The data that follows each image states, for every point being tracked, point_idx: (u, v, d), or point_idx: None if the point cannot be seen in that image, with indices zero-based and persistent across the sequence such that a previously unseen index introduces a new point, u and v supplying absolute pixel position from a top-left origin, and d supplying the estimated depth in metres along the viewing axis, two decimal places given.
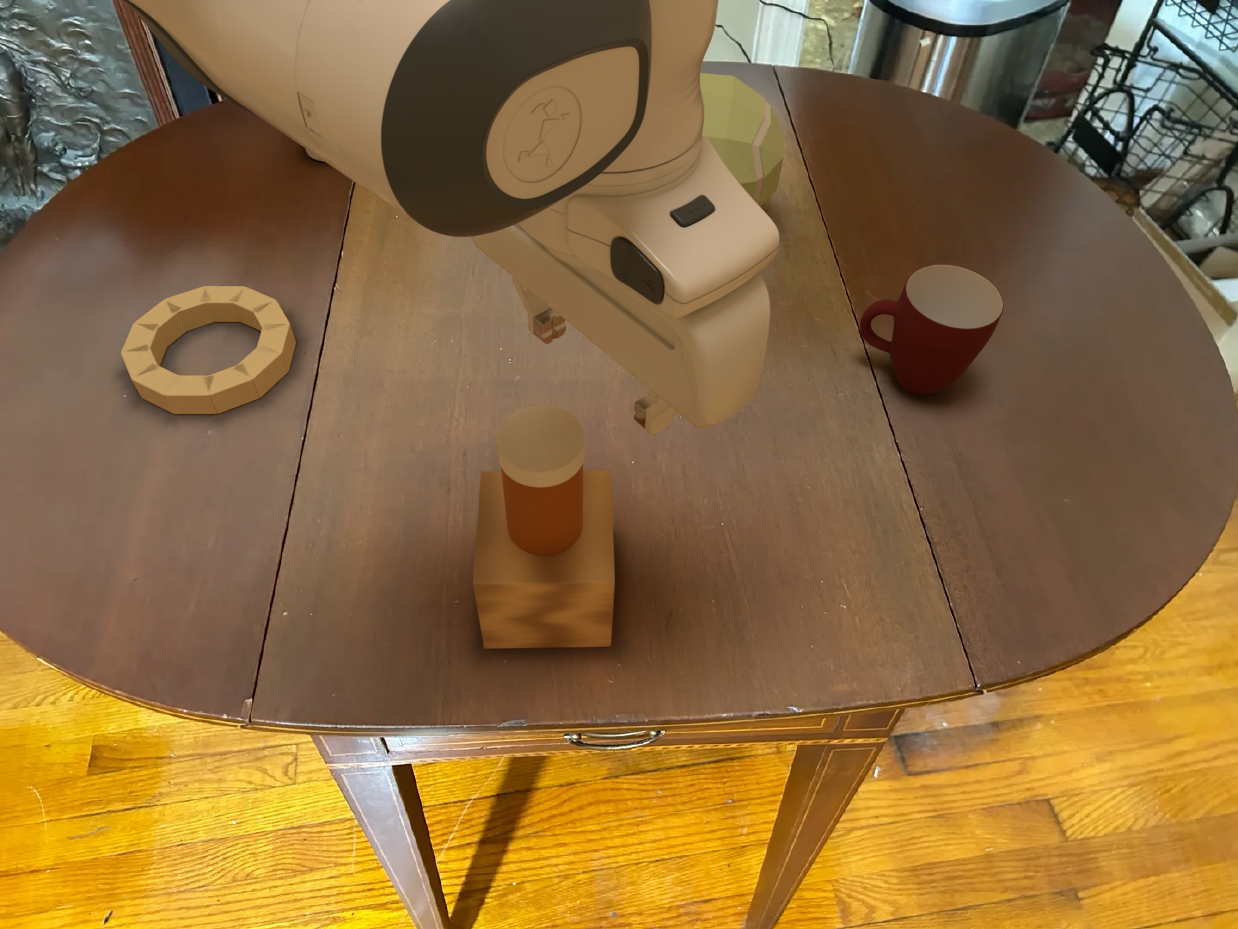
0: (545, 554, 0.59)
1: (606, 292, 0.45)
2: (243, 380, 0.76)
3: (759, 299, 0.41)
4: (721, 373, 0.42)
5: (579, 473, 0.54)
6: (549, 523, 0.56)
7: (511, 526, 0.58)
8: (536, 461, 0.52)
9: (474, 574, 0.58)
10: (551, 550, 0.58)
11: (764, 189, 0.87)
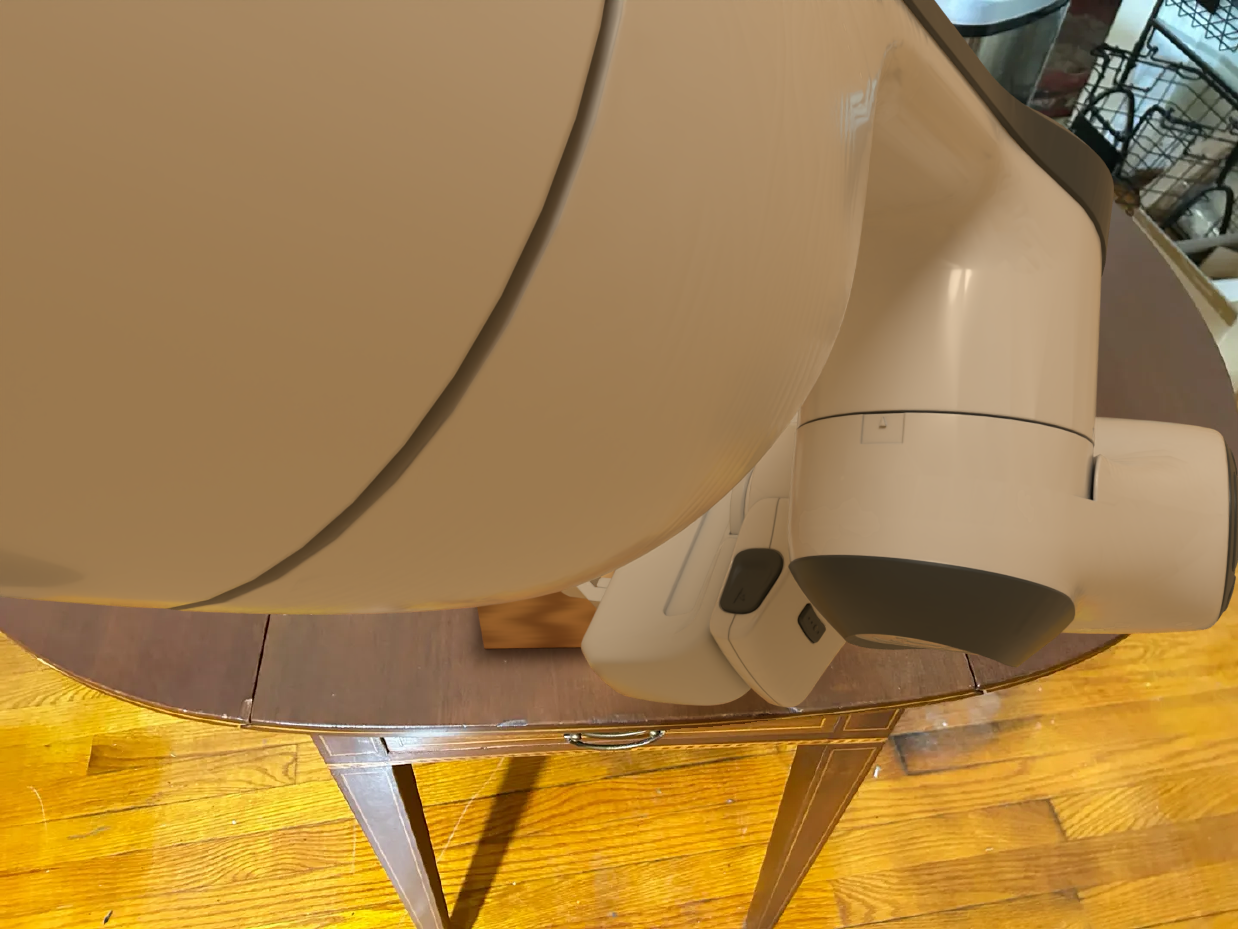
0: None
1: (703, 527, 0.44)
2: None
3: (727, 695, 0.41)
4: (650, 671, 0.40)
5: None
6: None
7: None
8: None
9: None
10: None
11: None
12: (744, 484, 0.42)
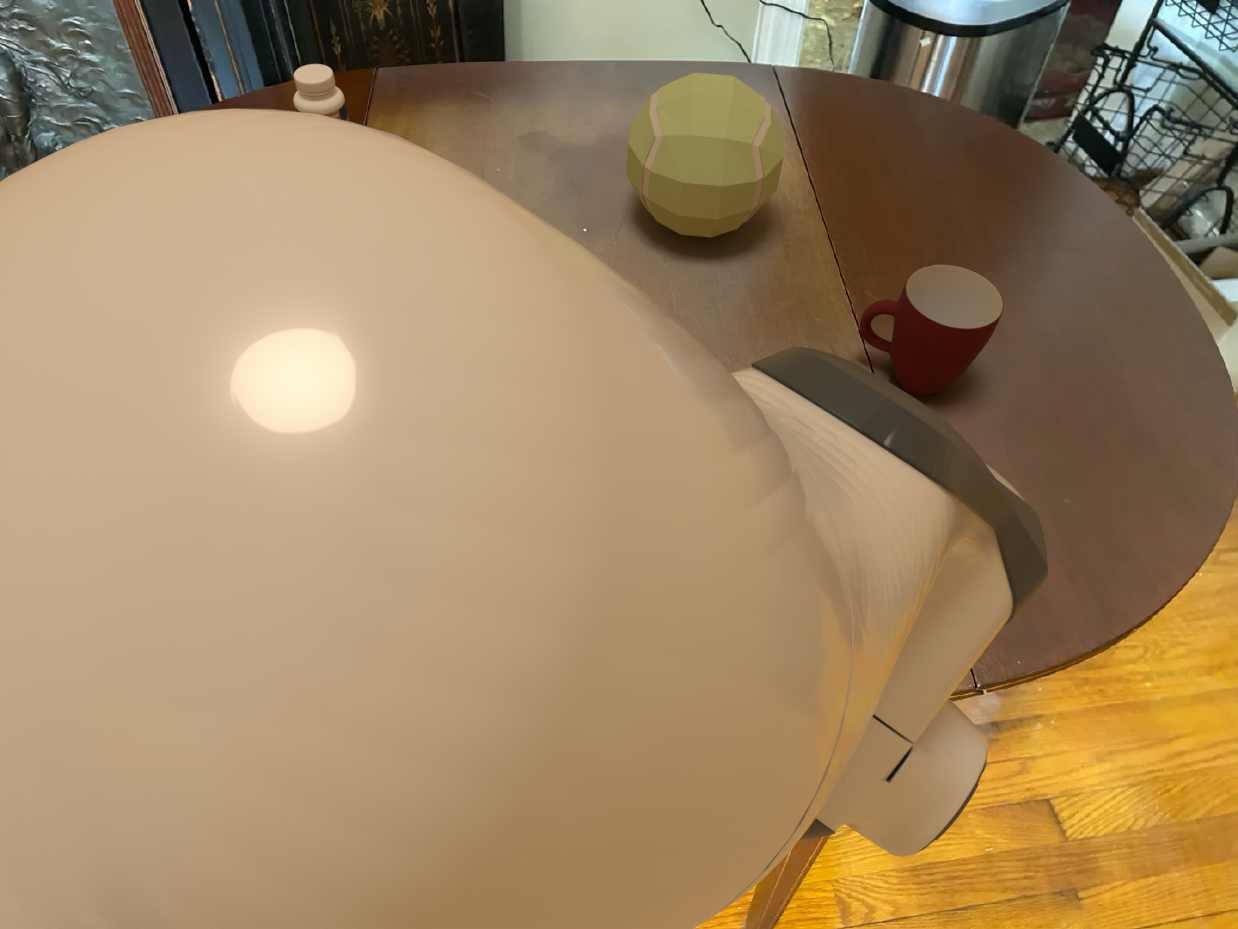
0: None
1: None
2: None
3: None
4: None
5: None
6: None
7: None
8: None
9: None
10: None
11: (764, 189, 0.87)
12: None
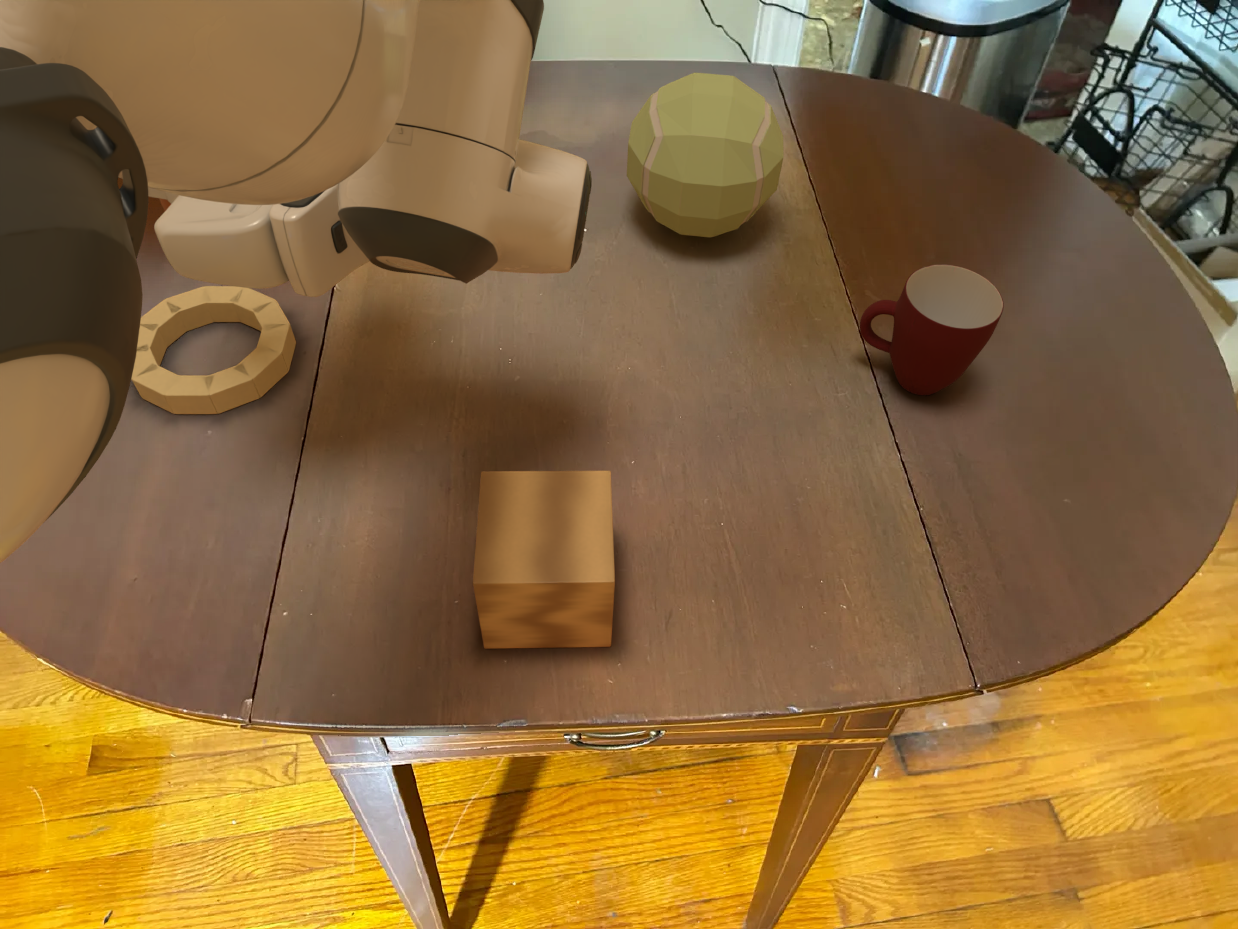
0: None
1: None
2: (243, 380, 0.76)
3: (268, 279, 0.58)
4: (214, 244, 0.55)
5: None
6: None
7: None
8: None
9: (474, 574, 0.58)
10: None
11: (764, 189, 0.87)
12: None
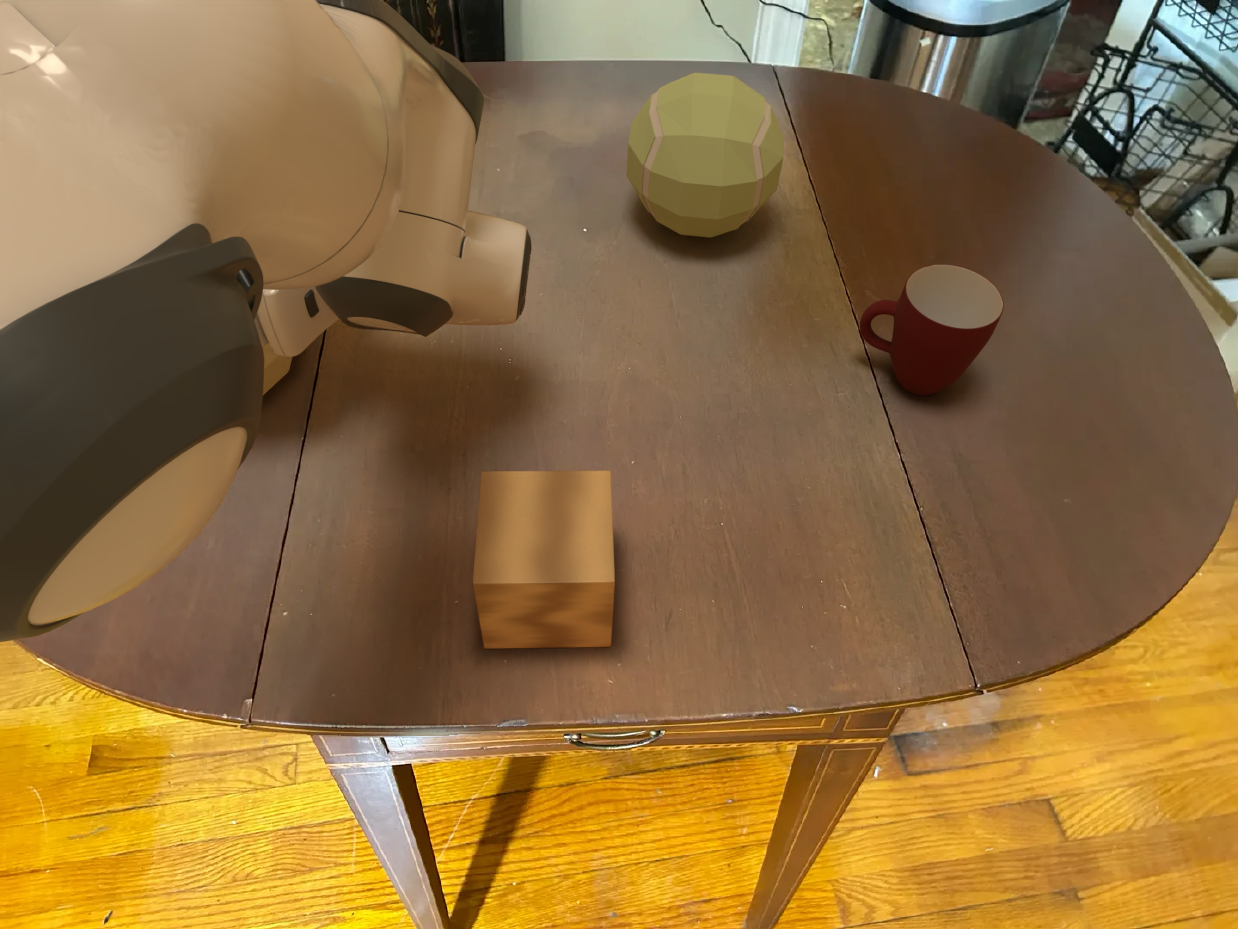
0: None
1: None
2: None
3: None
4: None
5: None
6: None
7: None
8: None
9: (474, 574, 0.58)
10: None
11: (764, 189, 0.87)
12: None
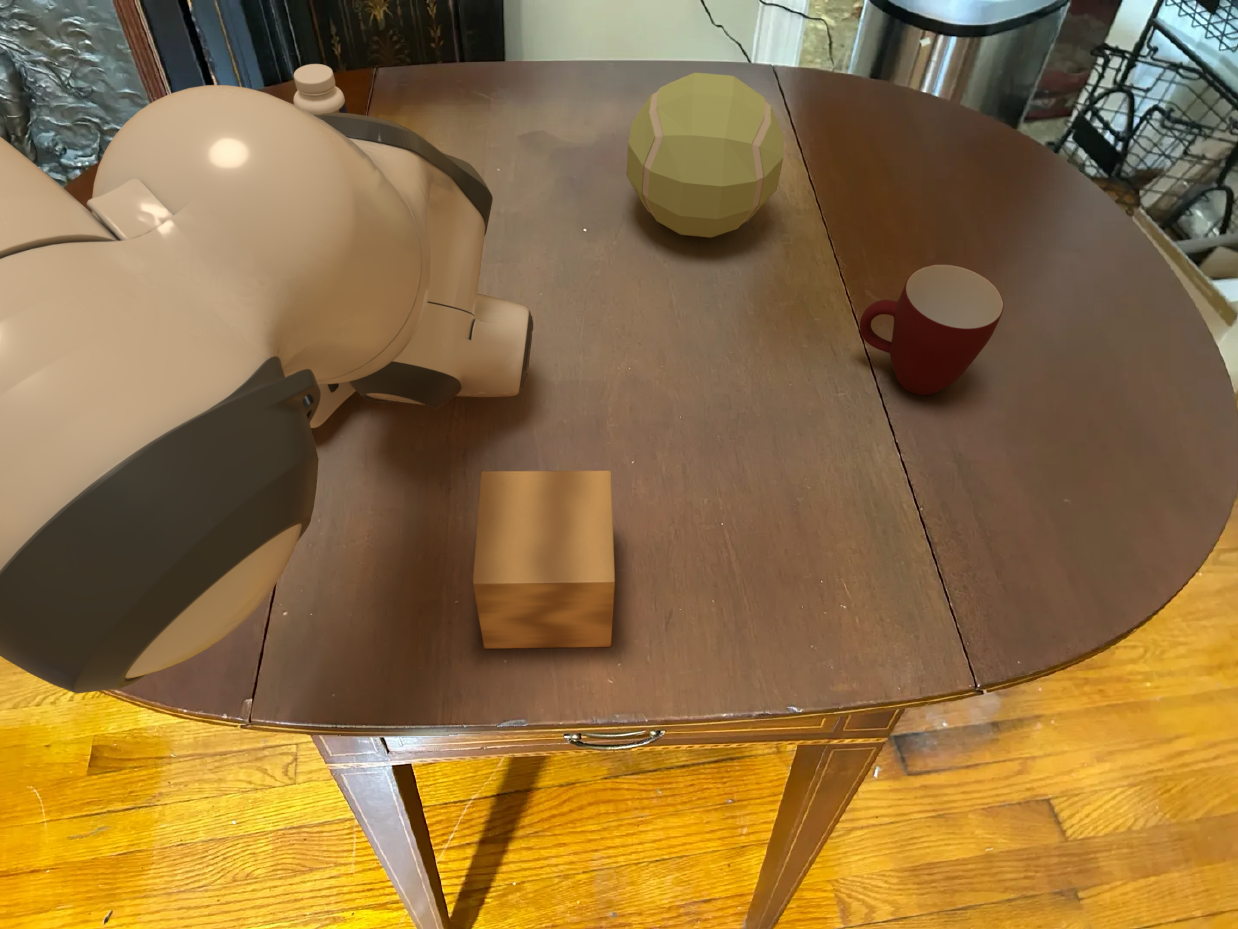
0: None
1: None
2: None
3: None
4: None
5: None
6: None
7: None
8: None
9: (474, 574, 0.58)
10: None
11: (764, 189, 0.87)
12: None
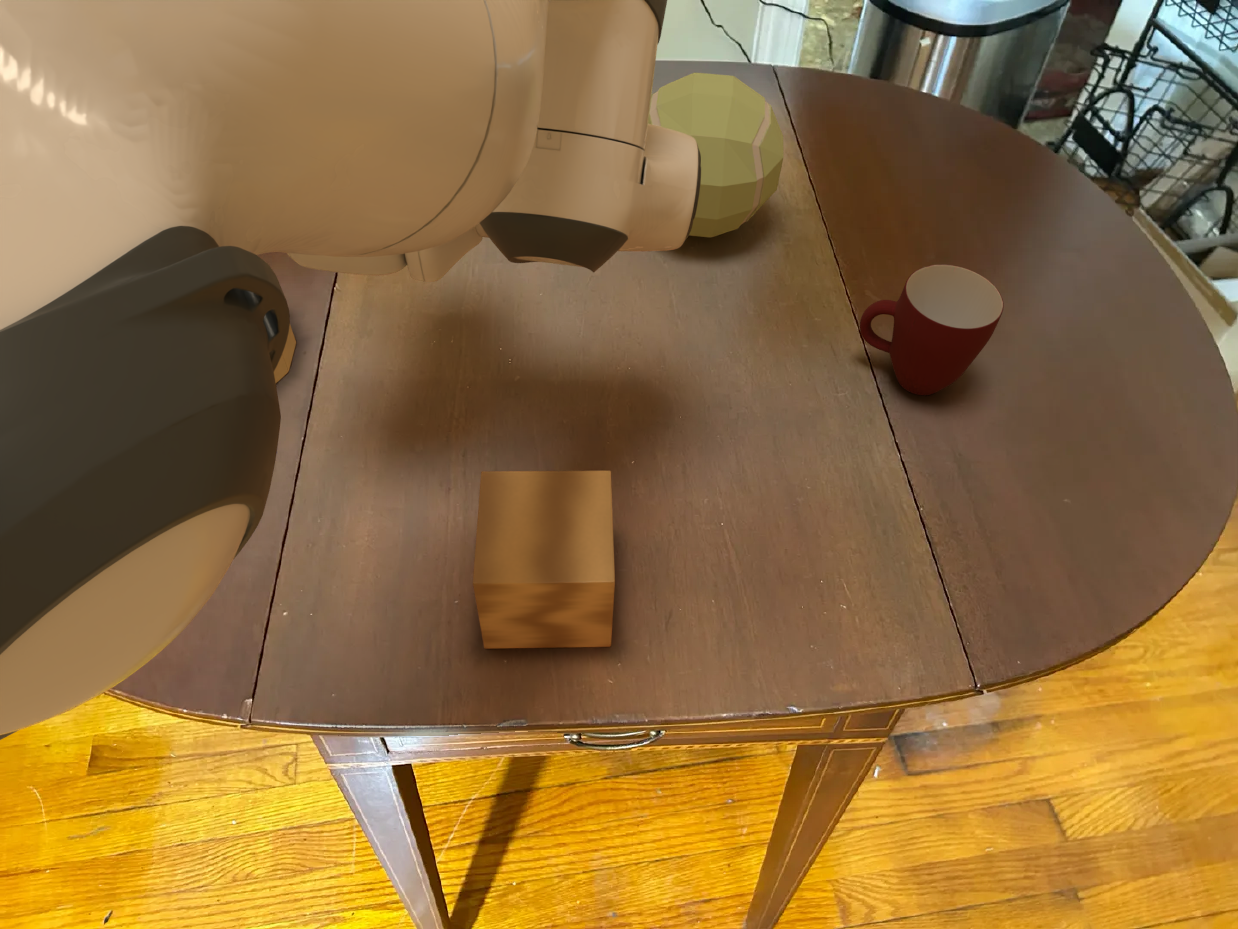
0: None
1: None
2: None
3: (389, 266, 0.58)
4: None
5: None
6: None
7: None
8: None
9: (474, 574, 0.58)
10: None
11: (764, 189, 0.87)
12: None
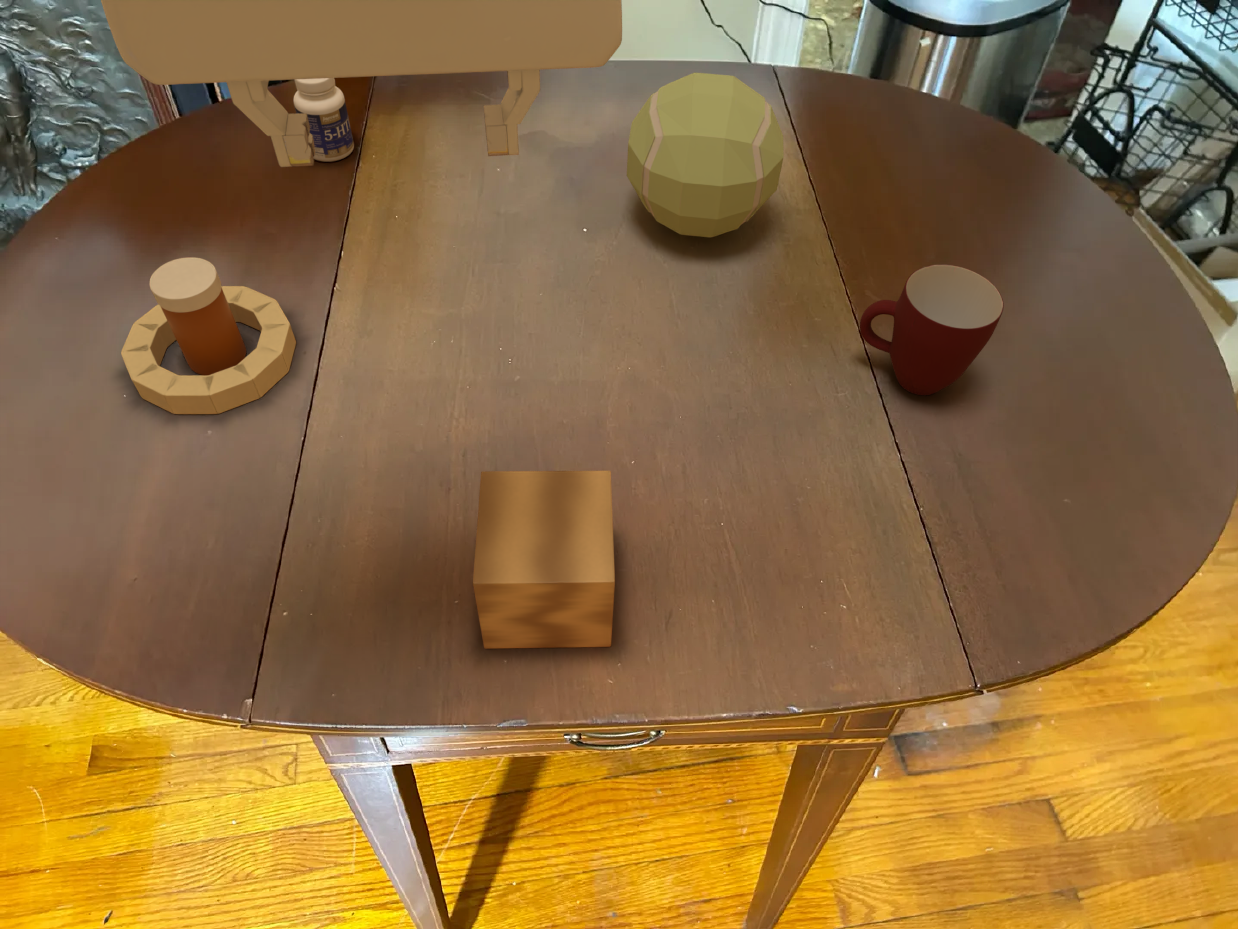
0: None
1: None
2: (243, 380, 0.76)
3: None
4: None
5: (222, 294, 0.76)
6: (219, 339, 0.77)
7: (193, 360, 0.78)
8: (188, 290, 0.73)
9: (474, 574, 0.58)
10: (230, 364, 0.80)
11: (764, 189, 0.87)
12: None
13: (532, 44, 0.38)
